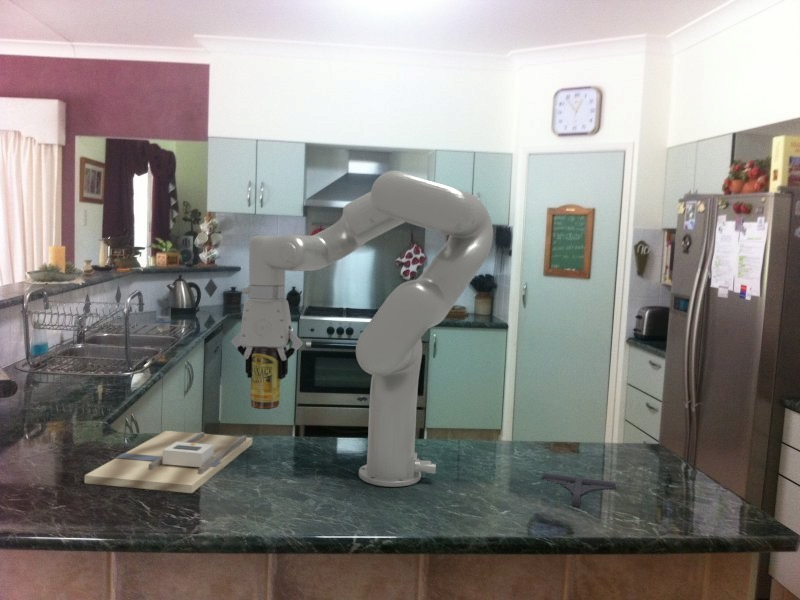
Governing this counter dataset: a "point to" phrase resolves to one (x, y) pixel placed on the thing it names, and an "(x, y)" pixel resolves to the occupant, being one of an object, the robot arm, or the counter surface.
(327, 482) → the counter surface
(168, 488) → the wooden cutting board
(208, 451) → the white rectangular box
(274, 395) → the sauce bottle
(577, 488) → the bracket
